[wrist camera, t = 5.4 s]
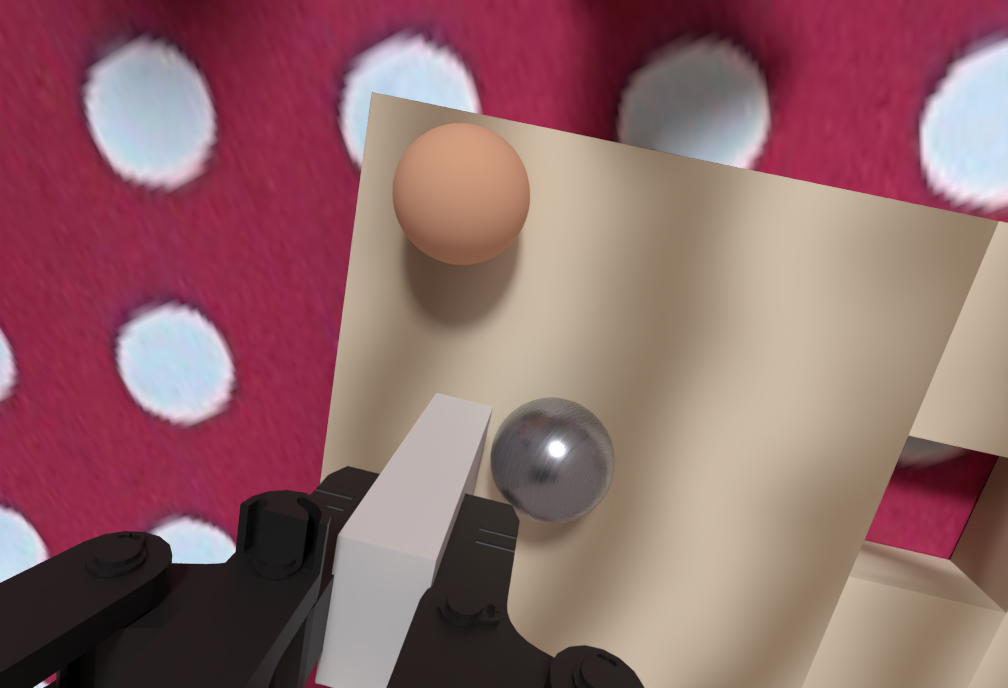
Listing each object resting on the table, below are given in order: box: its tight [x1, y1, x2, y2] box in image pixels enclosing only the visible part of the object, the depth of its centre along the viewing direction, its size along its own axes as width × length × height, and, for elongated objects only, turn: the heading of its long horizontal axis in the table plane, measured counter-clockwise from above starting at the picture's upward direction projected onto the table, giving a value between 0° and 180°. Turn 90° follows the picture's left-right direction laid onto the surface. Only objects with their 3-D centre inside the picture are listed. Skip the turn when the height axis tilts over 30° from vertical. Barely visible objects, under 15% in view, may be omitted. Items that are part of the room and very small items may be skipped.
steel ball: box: [490, 397, 615, 524], centre depth 15 cm, size 3×3×3 cm
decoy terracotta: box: [392, 123, 530, 265], centre depth 14 cm, size 3×3×3 cm
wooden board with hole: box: [320, 92, 1008, 688], centre depth 17 cm, size 24×16×2 cm, turn 79°
